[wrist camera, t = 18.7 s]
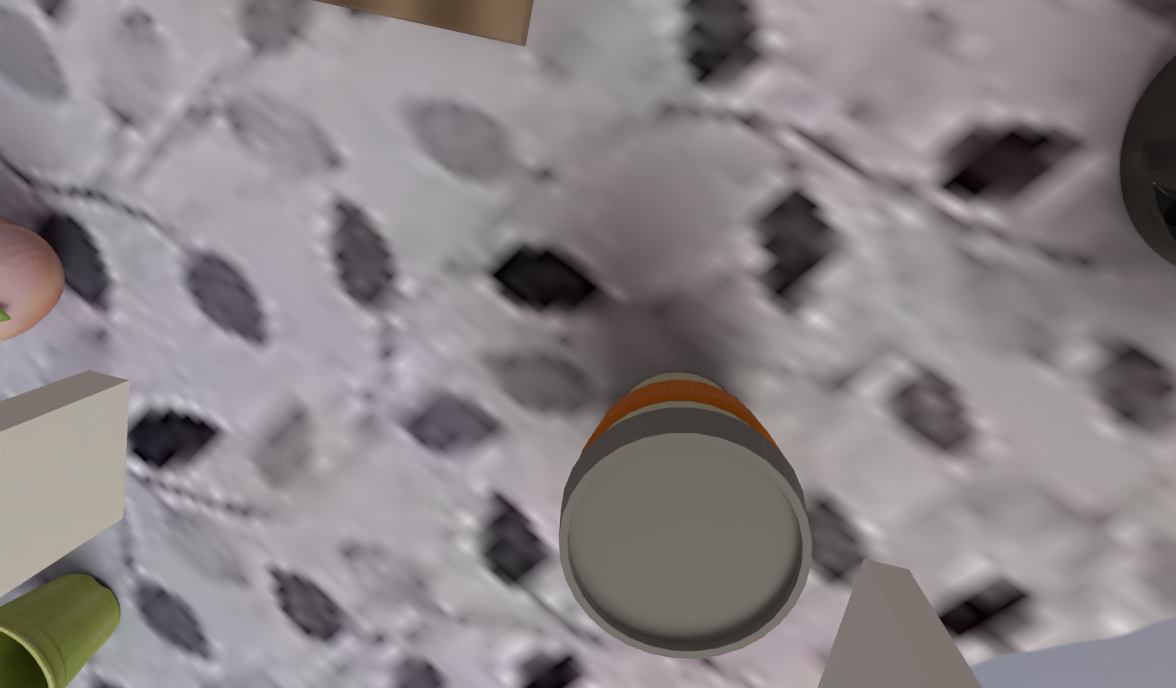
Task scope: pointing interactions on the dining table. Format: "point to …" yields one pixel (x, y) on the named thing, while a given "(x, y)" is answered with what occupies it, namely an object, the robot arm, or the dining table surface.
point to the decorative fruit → (26, 279)
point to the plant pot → (54, 631)
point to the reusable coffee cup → (684, 522)
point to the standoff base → (456, 15)
